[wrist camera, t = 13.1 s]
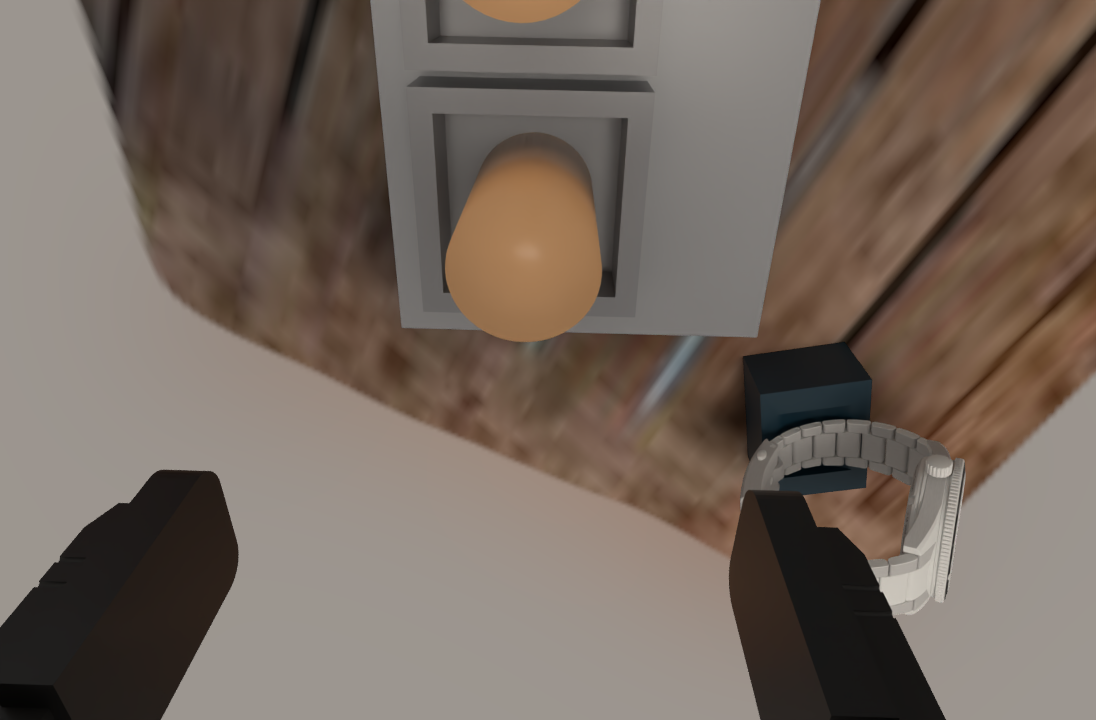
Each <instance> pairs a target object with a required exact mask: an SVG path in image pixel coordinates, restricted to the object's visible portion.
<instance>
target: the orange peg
mask: <svg viewBox="0 0 1096 720" xmlns="http://www.w3.org/2000/svg"><path fill="white" fill-rule="evenodd" d="M445 274H446V281H447V285H448V288H449V291H450V294H451V296H452V298H453V300H454V302H455V303H456V305H457V307H458V308H459V309H460V311H461V312H462V313H463V315H464V316H465V317H466V318H467V319H468V320H469V321H471V322H472V323H473V324H474V325H476V326H477V327H478V328H480V329H482V330H483V331H485V332H487V333H489V334H491V335H493V336H495V337H499V338H502V339H505V340H510V341H517V342H535V341H541V340H546V339H549V338H553V337H555V336H558V335H560V334H562V333H564V332H566V331H567V330H569V329H571V328H572V327H573V326H575V325H576V324H577V323H578V322H579V321H580V320H581V319H582V318H584V316H585V315H586V314H587V313H588V311H589V310H590V308H591V307H592V305H593V304H594V302H595V299H596V297H597V295H598V292H599V288H600V285H601V278H602V263H601V254H600V246H599V238H598V230H597V221H596V213H595V205H594V196H593V188H592V181H591V176H590V173H589V170H588V168H587V165H586V163H585V162H584V160H583V158H582V157H581V156H580V154H579V153H578V152H577V151H576V150H575V149H574V148H573V147H572V146H571V145H569V144H568V143H567V142H565V141H563V140H561V139H560V138H558V137H555V136H552V135H549V134H545V133H537V132H531V133H523V134H518V135H515V136H512V137H510V138H508V139H506V140H504V141H503V142H501V143H500V144H498V145H497V146H496V147H495V148H494V149H493V150H492V151H491V152H490V153H489V154H488V156H487V157H486V159H485V160H484V162H483V164H482V166H481V168H480V171H479V173H478V175H477V178H476V180H475V183H474V185H473V187H472V190H471V192H470V195H469V197H468V199H467V202H466V204H465V207H464V209H463V211H462V214H461V216H460V219H459V221H458V223H457V226H456V228H455V231H454V233H453V235H452V238H451V240H450V243H449V246H448V249H447V253H446V260H445Z"/></svg>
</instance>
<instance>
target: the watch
mask: <svg viewBox="0 0 1096 720" xmlns="http://www.w3.org/2000/svg"><path fill="white" fill-rule="evenodd" d="M743 365H744V385H745V405H746V425H747V446H748V457H749V460H750V462H749V464H748V467H747V469H746V472H745V475H744V478H743V483H742V488H741V496H740V508H742V503H743V499H744V496H745V493H746V492H747V491H748V490H774V491H798V492H800V493H801V494H802V495H808V494H816V493H825V492H833V491H842V490H850V489H858V488H866V479H867V467H868V465H869V468H870V469H871V470H874V471H877V472H880V473H883V474H886V475H890V474H892V476H893V477H894V478H896V479H898V480H900V481H902V482H904V483H905V484H907V485H911V488H910V493H909V498H908V504H907V510H906V516H905V522H904V529H903V536H902V543H901V552H900V556H896V557H891V558H889V559H888V563H887V561H886V560H884V559H875V560H867V561H868V563H869V565H870V567H871V569H872V571H873V573H874V575H875V577H876V579H877V581H878V583H879V585H880V592H883V593H884V595H885V597H886V599H887V601H888V603H889V605H890V607H891V609H892V611H893V612H892V615H898V614H903V613H904V614H907V615H912V614H914V613H916V612H917V611H918V610H920V609H921V608H922V607H923V606H924V605H925V604H926V602H927V601H928V600H929V598H930V596H931V597H934V599H935V601H937V602H941V603H943V601H944V599H945V597H946V594H947V591H948V589H949V585H950V579H951V572H952V565H953V559H954V553H955V546H956V539H957V532H958V525H959V519H960V512H961V505H962V498H963V491H964V484H965V462H964V459H960V458H956V459H955V461H954V460H951V458H950V455H949V452H948V451H947V449H946V448H945V447H944V446H943V445H942V444H941V443H940V442H938V441H931V440H926V439H924V438H920V436H919V435H917V434H915V433H912V432H910V431H907V430H904V429H901V428H898V429H897V430H896V427H895V426H892V425H888V424H884V423H879V422H872V425H871V421H870V407H871V389H872V379H871V378H870V376H869V375H868V373H867V372H866V371H865V369H864V368H863V367H862V365H861V364H860V362H859V361H858V360H857V358H856V357H855V356H854V354H853V353H852V352H851V350H850V349H849V347H848V346H847V345H846V343H845V342H842V343H835V344H827V345H820V346H813V347H806V348H799V349H792V350H785V351H778V352H771V353H764V354H757V355H750V356H743ZM886 440H887V442H886ZM885 454H886V456H885Z"/></svg>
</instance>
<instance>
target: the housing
mask: <svg viewBox="0 0 1096 720" xmlns="http://www.w3.org/2000/svg"><path fill="white" fill-rule="evenodd" d="M820 1H821V0H370V2H371V12H372V23H373V33H374V43H375V54H376V64H377V75H378V85H379V96H380V106H381V116H382V127H383V137H384V148H385V158H386V169H387V179H388V189H389V200H390V210H391V221H392V231H393V242H394V252H395V263H396V273H397V283H398V294H399V304H400V315H401V325H402V328H426V329H463V330H482V329H480V328H478V327H477V326H476V325H474V324H473V323H472V322H471V321H469V320H468V319H467V318H466V317H465V316H464V315H463V313H462V312H461V311H460V309H459V308H458V307H457V305H456V303H455V302H454V300H453V298H452V296H451V294H450V291H449V288H448V285H447V281H446V274H445V260H446V253H447V249H448V246H449V243H450V240H451V238H452V235H453V233H454V231H455V228H456V226H457V223H458V221H459V219H460V216H461V214H462V211H463V209H464V207H465V204H466V202H467V199H468V197H469V195H470V192H471V190H472V187H473V185H474V183H475V180H476V178H477V175H478V173H479V171H480V168H481V166H482V164H483V162H484V160H485V159H486V157H487V156H488V154H489V153H490V152H491V151H492V150H493V149H494V148H495V147H496V146H497V145H498V144H500V143H501V142H503V141H504V140H506V139H508V138H510V137H512V136H515V135H518V134H523V133H531V132H537V133H545V134H549V135H552V136H555V137H558V138H560V139H561V140H563V141H565V142H567V143H568V144H569V145H571V146H572V147H573V148H574V149H575V150H576V151H577V152H578V153H579V154H580V156H581V157H582V158H583V160H584V162H585V163H586V165H587V168H588V170H589V173H590V176H591V181H592V188H593V196H594V205H595V213H596V221H597V230H598V238H599V246H600V254H601V263H602V278H601V285H600V288H599V292H598V295H597V297H596V299H595V302H594V304H593V305H592V307H591V308H590V310H589V311H588V313H587V314H586V315H585V316H584V318H582V319H581V320H580V321H579V322H578V323H577V324H576V325H575V326H573V327H572V328H571V329H569V330H567V331H566V332H575V333H612V334H649V335H686V336H723V337H757V335H758V330H759V324H760V319H761V314H762V308H763V303H764V298H765V292H766V287H767V282H768V276H769V271H770V266H771V261H772V255H773V250H774V245H775V239H776V234H777V229H778V223H779V218H780V213H781V207H782V202H783V197H784V192H785V186H786V181H787V176H788V170H789V165H790V160H791V154H792V149H793V144H794V139H795V133H796V128H797V123H798V117H799V112H800V107H801V101H802V96H803V91H804V85H805V80H806V75H807V70H808V64H809V59H810V54H811V48H812V43H813V38H814V32H815V27H816V22H817V17H818V11H819V6H820Z"/></svg>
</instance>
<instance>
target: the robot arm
mask: <svg viewBox="0 0 1096 720" xmlns="http://www.w3.org/2000/svg"><path fill="white" fill-rule="evenodd" d="M237 566H238V544H237V540H236V537H235V533H234V529H233V526H232V522H231V519H230V515H229V512H228V508H227V505H226V501H225V497H224V494H223V491H222V487H221V484H220V481H219V478H218V476H217V475H216V474H215V473H214V472H211V471H187V470H159V471H157V472H156V473H154V474H153V475H152V476H151V477H150V478H149V479H148V481H147V482H146V483H145V484H144V486H143V487H142V488H141V490H140V491H139V492H138V493H137V495H136V496H135V497H134V498H133V500H132V501H131V502H130V503H118V504H117V505H115V506H114V507H113V508H111V509H110V510H109V511H107V512H105V513H104V514H103V515H101V516H100V517H98V518H97V519H96V520H94V521H93V522H91V523H90V524H88V525H87V526H86V527H84V528H83V530H82V531H81V532H80V533H79V534H78V535H77V537H76V538H75V539H74V540H73V541H72V543H71V544H70V545H69V546H68V547H67V549H66V550H65V551H64V552H63V553H62V555H61V556H60V561H59V562H58V563H56V562H55V563H54V564H53V565H52V566H51V568H50V569H49V570H48V571H47V572H46V574H45V575H44V576H43V577H42V578H41V579H40V581H39V582H40V584H39V586H38V587H34V588H33V589H32V590H31V591H30V592H29V594H28V595H27V596H26V597H25V598H24V600H23V601H22V602H21V603H20V604H19V606H18V607H17V608H16V609H15V611H14V612H13V613H12V614H11V615H10V616H9V617H8V619H7V620H6V621H5V622H4V623H3V625H2V626H1V627H0V720H161V718H162V716H163V714H164V713H165V711H166V709H167V707H168V705H169V703H170V701H171V699H172V697H173V696H174V694H175V692H176V690H177V688H178V686H179V684H180V682H181V680H182V679H183V677H184V675H185V673H186V671H187V669H188V667H189V665H190V663H191V662H192V660H193V658H194V656H195V654H196V652H197V650H198V648H199V647H200V645H201V643H202V641H203V639H204V637H205V635H206V633H207V631H208V630H209V628H210V626H211V624H212V622H213V620H214V618H215V616H216V614H217V613H218V611H219V609H220V607H221V605H222V603H223V601H224V599H225V597H226V595H227V594H228V592H229V590H230V588H231V586H232V584H233V581H234V578H235V574H236V571H237ZM729 589H730V598H731V603H732V608H733V612H734V616H735V620H736V624H737V628H738V632H739V635H740V639H741V644H742V647H743V651H744V655H745V659H746V664H747V667H748V672H749V676H750V680H751V683H752V687H753V691H754V695H755V699H756V703H757V707H758V711H759V715H760V719H761V720H946V719H945V717H944V715H943V713H942V711H941V709H940V707H939V705H938V703H937V701H936V699H935V697H934V695H933V693H932V691H931V689H930V687H929V685H928V683H927V681H926V679H925V677H924V675H923V673H922V670H921V669H920V666H919V664H918V662H917V660H916V658H915V656H914V654H913V652H912V650H911V648H910V646H909V644H908V642H907V640H906V638H905V636H904V634H903V632H902V630H901V628H900V626H899V624H898V622H897V620H896V618H893V616H892V612H893V611H892V609H891V607H890V605H889V603H888V601H887V599H886V597H885V595H884V593H883V592H880V585H879V583H878V581H877V579H876V577H875V575H874V573H873V571H872V569H871V567H870V565H869V563H868V561H867V559H866V557H865V555H864V554H863V553H862V552H861V551H860V550H859V549H858V548H857V547H856V546H855V545H854V544H853V543H852V542H851V541H850V540H849V539H848V538H847V537H846V536H845V535H844V534H843V533H842V532H841V531H840V530H839V529H838V528H830V527H817V526H816V524H815V521H814V519H813V517H812V514H811V512H810V510H809V507H808V505H807V503H806V501H805V498H804V497H803V495H802V494H801V493H800V492H798V491H774V490H748V491H747V492H746V493H745V496H744V499H743V503H742V508H741V513H740V517H739V522H738V527H737V531H736V536H735V541H734V546H733V550H732V555H731V560H730V567H729Z"/></svg>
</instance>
